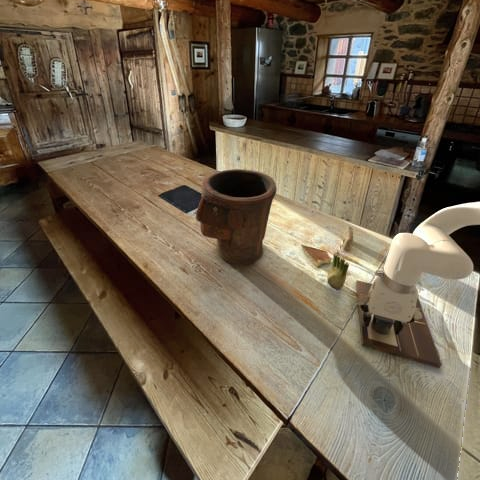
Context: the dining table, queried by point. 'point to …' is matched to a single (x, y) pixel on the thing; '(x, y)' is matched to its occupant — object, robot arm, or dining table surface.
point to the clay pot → (236, 213)
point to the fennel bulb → (337, 272)
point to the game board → (400, 336)
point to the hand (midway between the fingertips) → (380, 325)
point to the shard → (317, 255)
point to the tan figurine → (347, 239)
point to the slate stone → (381, 324)
